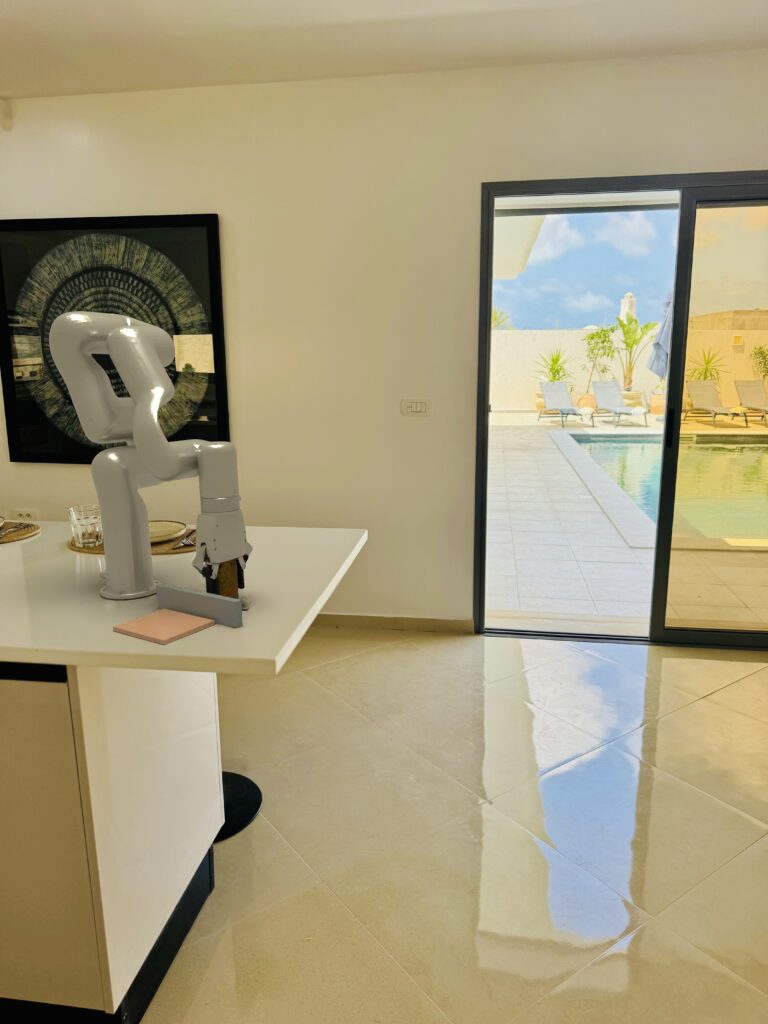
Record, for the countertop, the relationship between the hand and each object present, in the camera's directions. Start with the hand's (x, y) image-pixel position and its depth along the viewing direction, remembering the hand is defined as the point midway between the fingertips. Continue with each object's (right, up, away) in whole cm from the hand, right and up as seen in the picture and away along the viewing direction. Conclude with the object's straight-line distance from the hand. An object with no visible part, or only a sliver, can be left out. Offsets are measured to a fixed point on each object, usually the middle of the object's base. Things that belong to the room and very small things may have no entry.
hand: (225, 591), depth 146 cm
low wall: (-4, -4, -6) cm, 8 cm away
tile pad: (-9, -6, -11) cm, 15 cm away
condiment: (0, -3, +1) cm, 3 cm away
